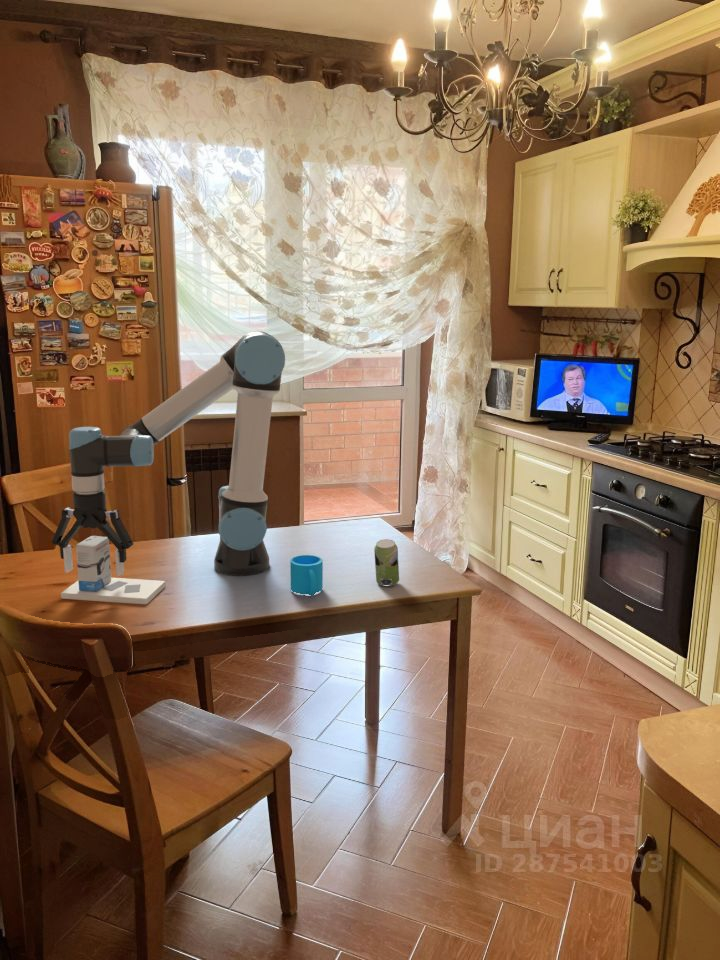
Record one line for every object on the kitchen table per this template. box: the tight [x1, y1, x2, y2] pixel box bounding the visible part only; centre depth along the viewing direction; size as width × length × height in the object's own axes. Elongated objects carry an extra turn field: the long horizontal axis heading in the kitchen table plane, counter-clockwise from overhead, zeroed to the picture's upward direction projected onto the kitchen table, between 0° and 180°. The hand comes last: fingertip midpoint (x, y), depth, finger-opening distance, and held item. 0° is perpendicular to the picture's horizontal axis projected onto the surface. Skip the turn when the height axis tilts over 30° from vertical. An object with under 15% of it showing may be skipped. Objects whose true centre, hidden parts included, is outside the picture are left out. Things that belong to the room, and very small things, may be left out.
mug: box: [289, 554, 324, 596], centre depth 192 cm, size 12×8×8 cm
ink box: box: [75, 535, 112, 591], centre depth 190 cm, size 8×5×12 cm, turn 171°
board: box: [60, 577, 167, 605], centre depth 191 cm, size 22×12×2 cm, turn 82°
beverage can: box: [373, 539, 400, 586], centre depth 197 cm, size 6×7×12 cm
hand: (94, 572), depth 190 cm, fingers open, 13 cm apart
